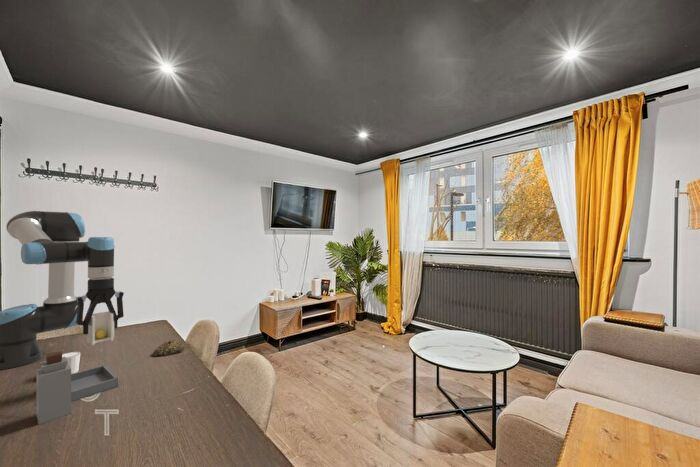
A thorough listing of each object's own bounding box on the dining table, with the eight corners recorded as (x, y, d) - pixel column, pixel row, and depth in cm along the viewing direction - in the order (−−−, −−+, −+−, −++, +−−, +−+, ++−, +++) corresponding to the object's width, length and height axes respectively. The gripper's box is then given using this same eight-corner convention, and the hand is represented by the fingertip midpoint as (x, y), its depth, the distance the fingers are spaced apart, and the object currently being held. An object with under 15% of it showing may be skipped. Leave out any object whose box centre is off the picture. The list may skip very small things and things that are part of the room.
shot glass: (65, 377, 112) (65, 359, 112) (51, 375, 113) (51, 357, 113) (85, 369, 119) (85, 352, 119) (71, 368, 120) (71, 350, 120)
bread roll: (182, 354, 134) (182, 343, 134) (150, 358, 130) (150, 347, 130) (186, 344, 146) (186, 334, 146) (157, 348, 142) (157, 337, 142)
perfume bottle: (67, 405, 93) (67, 348, 93) (71, 413, 89) (71, 353, 89) (36, 415, 88) (36, 354, 88) (38, 424, 84) (38, 360, 84)
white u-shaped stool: (88, 341, 110) (88, 314, 110) (108, 337, 115) (108, 311, 115) (92, 345, 106) (92, 317, 106) (113, 340, 111) (113, 313, 111)
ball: (93, 339, 110) (93, 330, 111) (104, 337, 113) (104, 328, 113) (96, 339, 108) (96, 330, 109) (107, 337, 111) (107, 328, 112)
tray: (48, 388, 104) (48, 380, 104) (104, 372, 116) (104, 364, 116) (56, 406, 93) (56, 396, 93) (118, 386, 105) (118, 378, 105)
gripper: (68, 282, 101) (68, 350, 101) (134, 276, 116) (134, 335, 116) (64, 280, 105) (63, 345, 105) (128, 274, 120) (127, 331, 120)
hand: (100, 339), depth 110 cm, fingers closed on white u-shaped stool, 6 cm apart
